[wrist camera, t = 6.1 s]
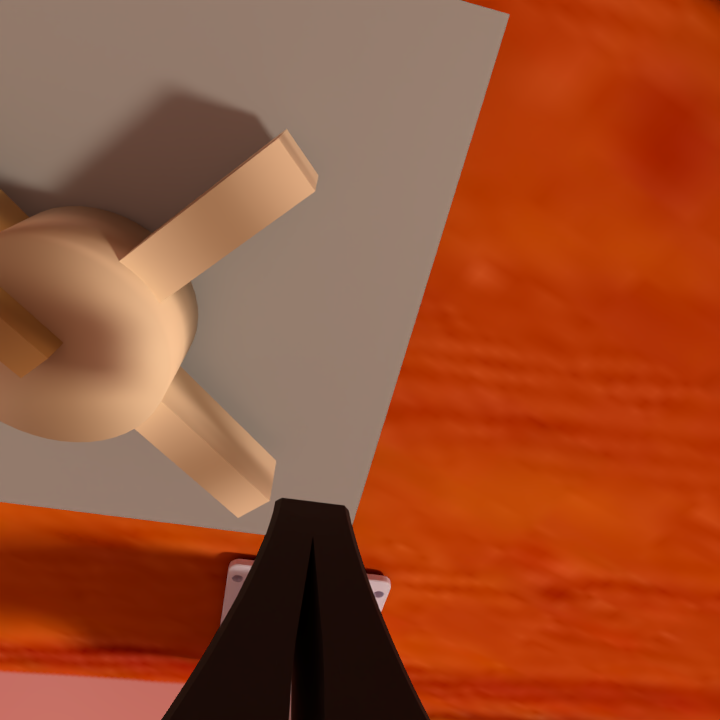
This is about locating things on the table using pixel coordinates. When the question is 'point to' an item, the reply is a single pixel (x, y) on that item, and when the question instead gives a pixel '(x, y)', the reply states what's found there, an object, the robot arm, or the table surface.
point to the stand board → (273, 243)
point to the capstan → (135, 322)
